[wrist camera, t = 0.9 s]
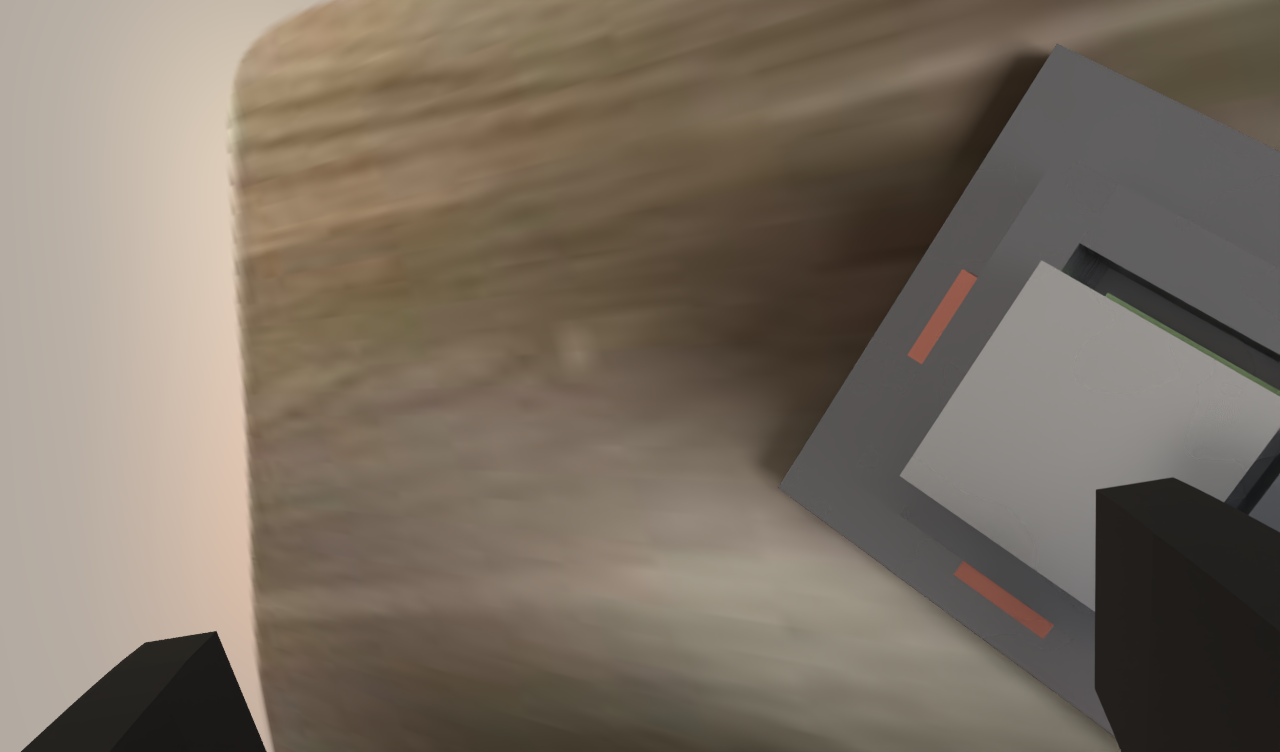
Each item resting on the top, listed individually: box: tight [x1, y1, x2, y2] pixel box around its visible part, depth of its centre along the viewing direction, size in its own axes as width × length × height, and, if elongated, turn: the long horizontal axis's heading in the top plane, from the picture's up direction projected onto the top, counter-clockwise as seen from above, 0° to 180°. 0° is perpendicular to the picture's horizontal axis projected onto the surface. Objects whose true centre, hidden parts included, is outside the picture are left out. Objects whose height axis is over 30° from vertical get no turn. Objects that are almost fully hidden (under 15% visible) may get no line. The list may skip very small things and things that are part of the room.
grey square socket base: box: [778, 44, 1280, 736], centre depth 19 cm, size 10×10×5 cm
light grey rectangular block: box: [900, 260, 1280, 612], centre depth 17 cm, size 3×3×8 cm
